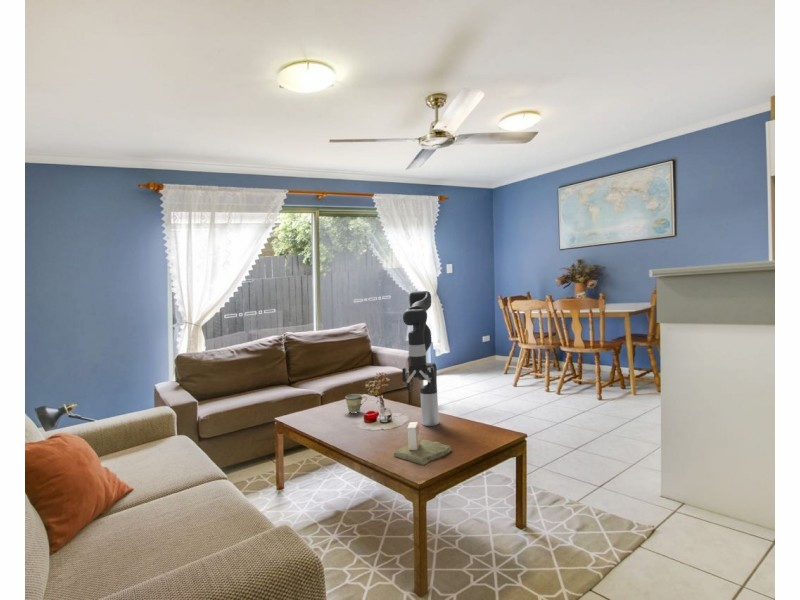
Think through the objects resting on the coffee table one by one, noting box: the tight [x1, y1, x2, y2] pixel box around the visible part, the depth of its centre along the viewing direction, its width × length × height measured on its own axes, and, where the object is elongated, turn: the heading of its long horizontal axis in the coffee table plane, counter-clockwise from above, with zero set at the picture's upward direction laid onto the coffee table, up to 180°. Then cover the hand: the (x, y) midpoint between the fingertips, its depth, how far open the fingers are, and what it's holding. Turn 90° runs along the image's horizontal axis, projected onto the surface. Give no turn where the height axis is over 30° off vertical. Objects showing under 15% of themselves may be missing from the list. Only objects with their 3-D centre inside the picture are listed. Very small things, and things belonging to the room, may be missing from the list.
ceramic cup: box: [345, 393, 368, 414], centre depth 270 cm, size 13×10×10 cm
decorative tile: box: [393, 438, 452, 466], centre depth 199 cm, size 19×20×4 cm
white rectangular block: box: [406, 421, 420, 450], centre depth 200 cm, size 8×4×10 cm, turn 170°
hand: (419, 390), depth 195 cm, fingers open, 8 cm apart
